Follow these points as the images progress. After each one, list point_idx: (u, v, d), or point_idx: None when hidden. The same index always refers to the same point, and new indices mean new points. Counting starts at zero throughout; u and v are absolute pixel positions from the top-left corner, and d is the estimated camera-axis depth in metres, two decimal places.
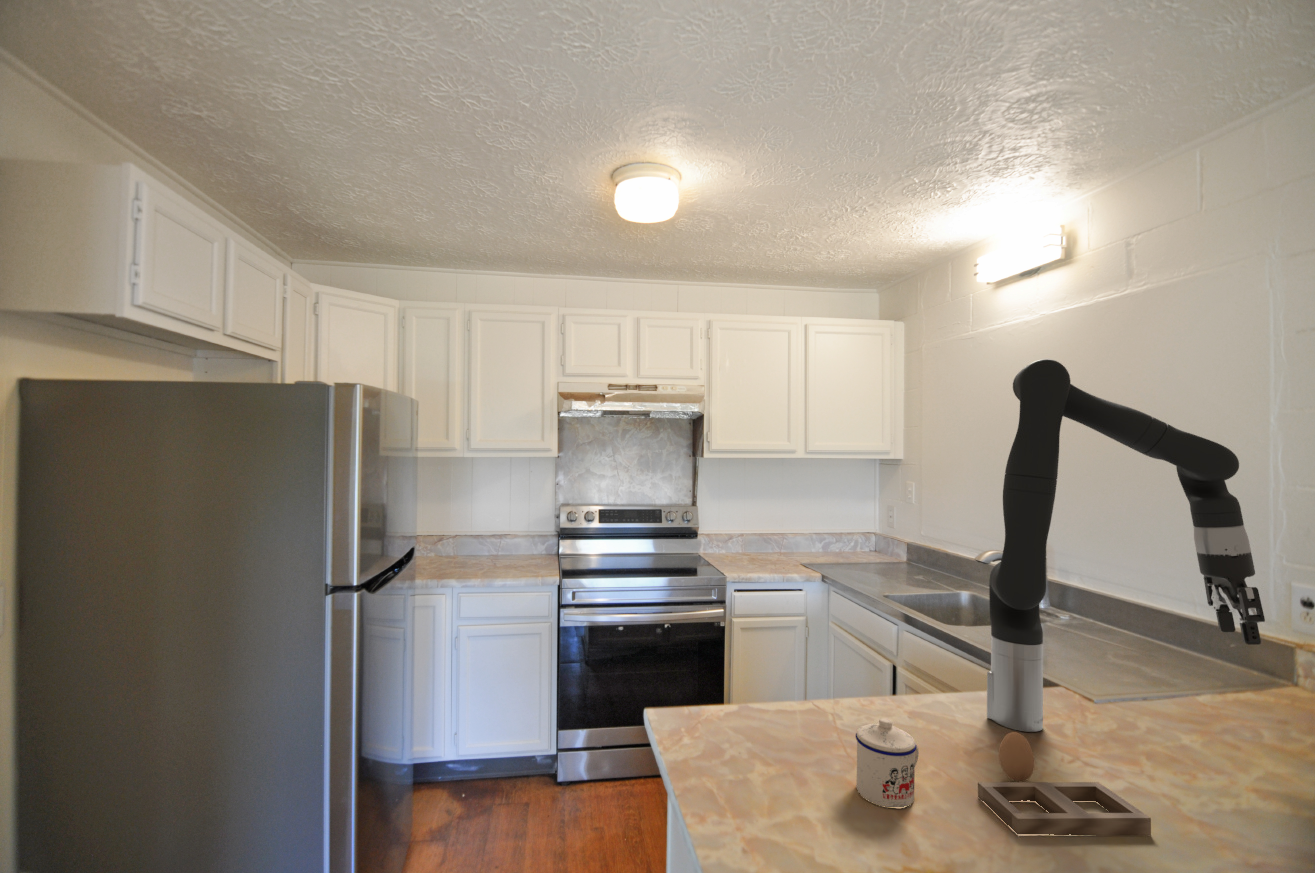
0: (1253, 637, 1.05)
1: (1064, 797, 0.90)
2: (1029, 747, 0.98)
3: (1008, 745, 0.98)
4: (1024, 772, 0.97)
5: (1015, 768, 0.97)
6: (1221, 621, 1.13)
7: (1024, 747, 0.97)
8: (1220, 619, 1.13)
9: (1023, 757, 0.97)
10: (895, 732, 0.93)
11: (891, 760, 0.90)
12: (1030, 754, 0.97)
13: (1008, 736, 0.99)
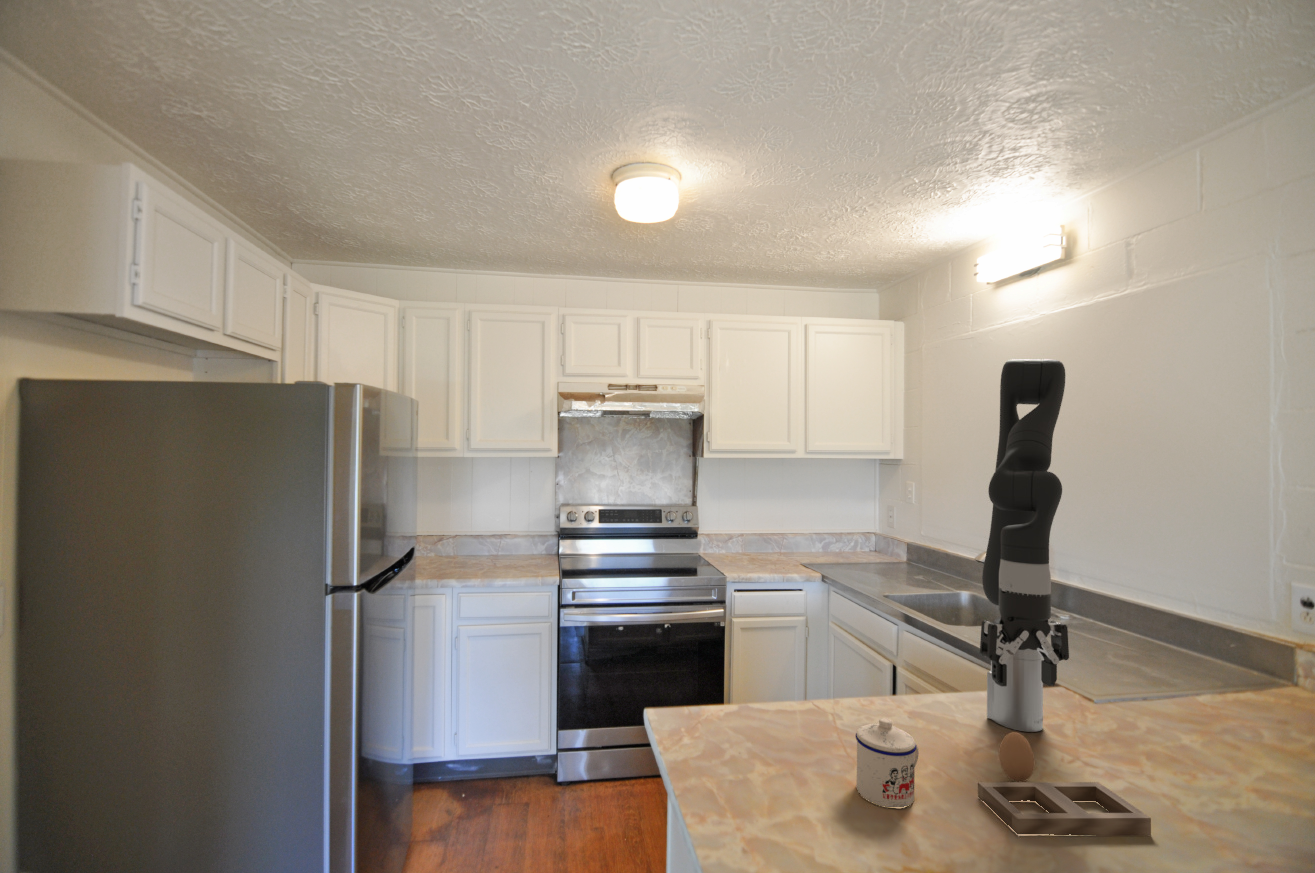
0: None
1: (1064, 797, 0.90)
2: (1029, 747, 0.98)
3: (1008, 745, 0.98)
4: (1024, 772, 0.97)
5: (1015, 768, 0.97)
6: (1042, 670, 1.00)
7: (1024, 747, 0.97)
8: (1042, 668, 1.00)
9: (1023, 757, 0.97)
10: (895, 732, 0.93)
11: (891, 760, 0.90)
12: (1030, 754, 0.97)
13: (1008, 736, 0.99)
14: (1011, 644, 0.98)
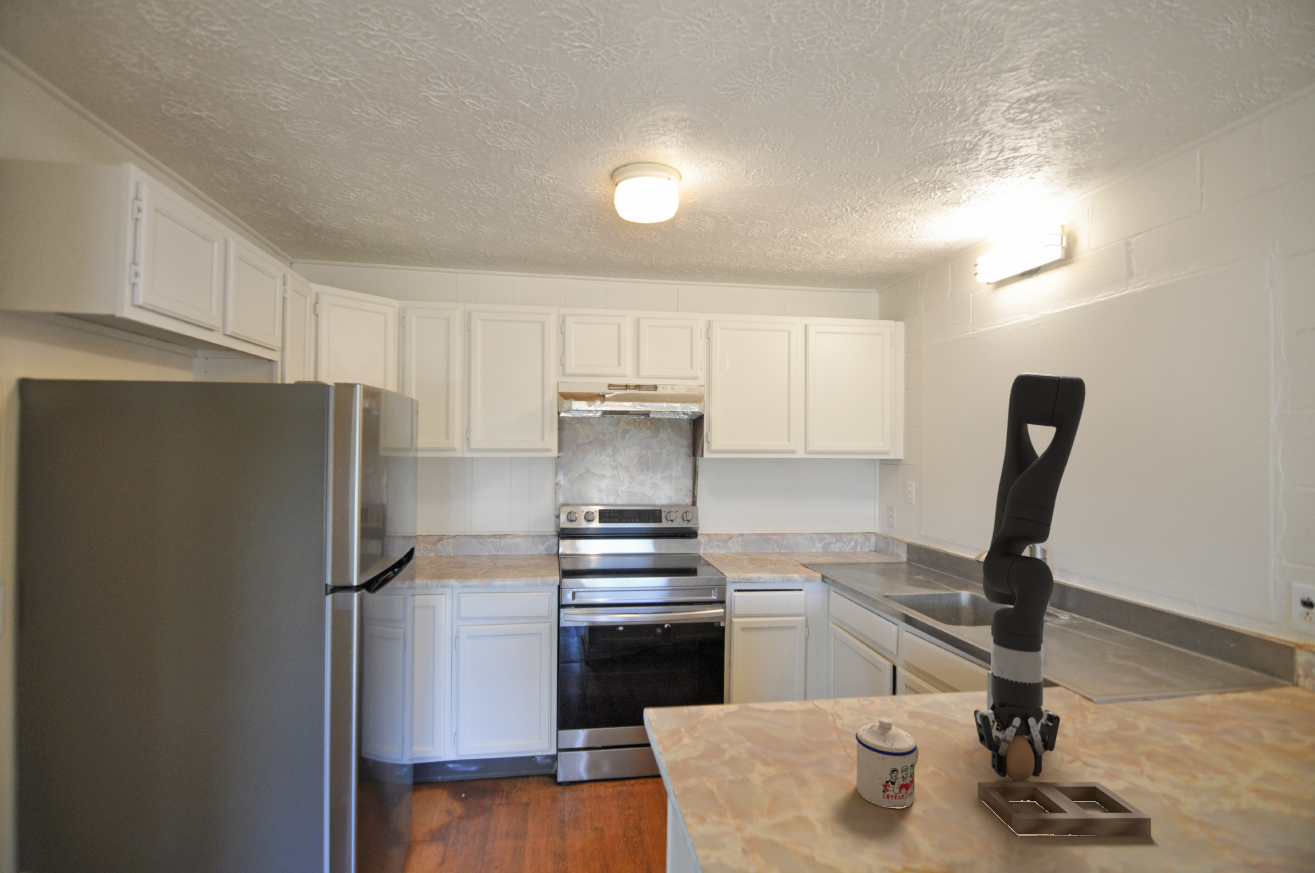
0: None
1: (1064, 797, 0.90)
2: (1029, 747, 0.98)
3: (1008, 745, 0.98)
4: (1024, 772, 0.97)
5: (1015, 768, 0.97)
6: None
7: (1024, 747, 0.97)
8: None
9: (1023, 757, 0.97)
10: (895, 732, 0.93)
11: (891, 760, 0.90)
12: (1030, 754, 0.97)
13: None
14: (1006, 733, 0.98)
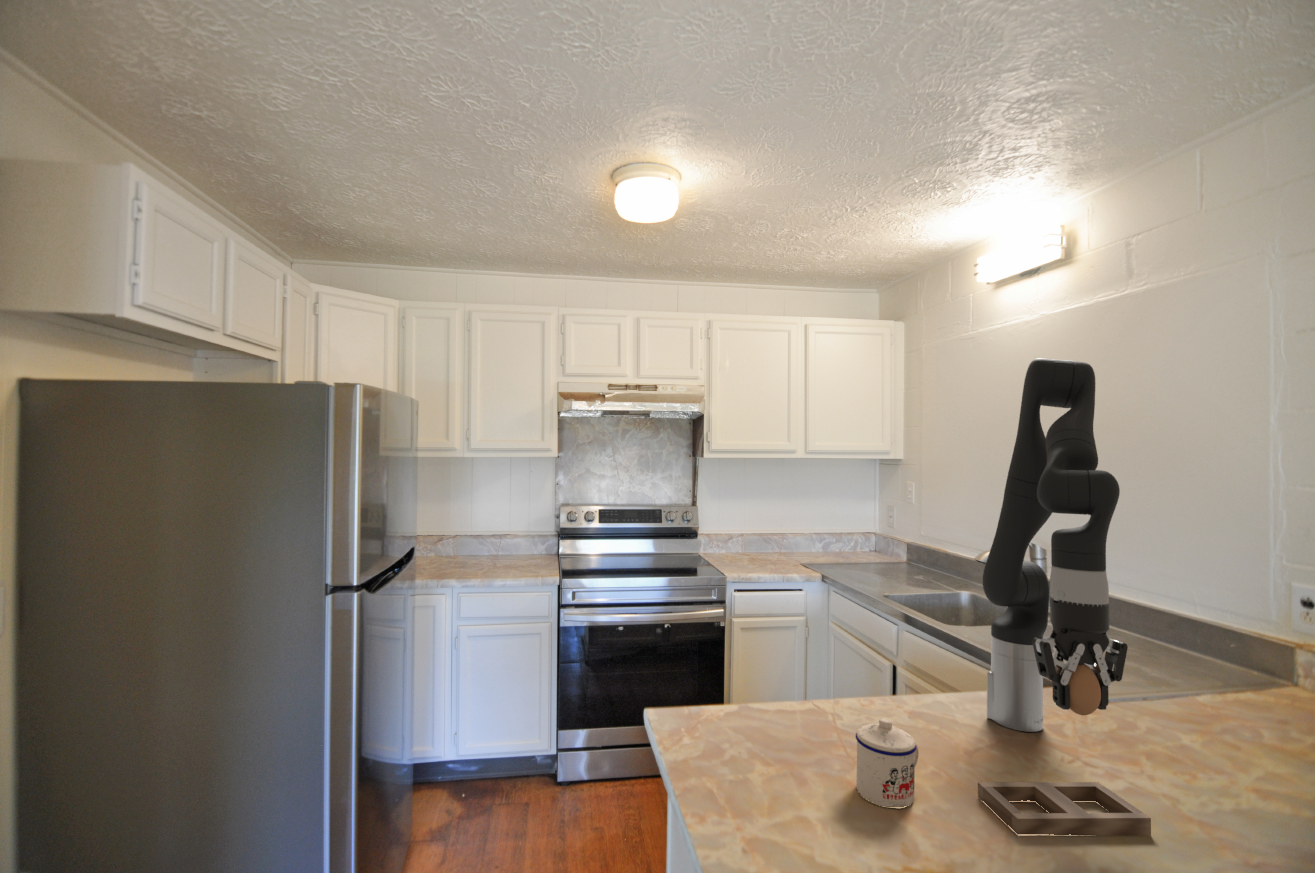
0: None
1: (1064, 797, 0.90)
2: (1095, 676, 0.90)
3: (1071, 675, 0.91)
4: (1091, 704, 0.89)
5: (1080, 699, 0.89)
6: None
7: (1089, 676, 0.90)
8: None
9: (1089, 687, 0.89)
10: (895, 732, 0.93)
11: (891, 760, 0.90)
12: (1096, 684, 0.89)
13: None
14: (1069, 662, 0.90)
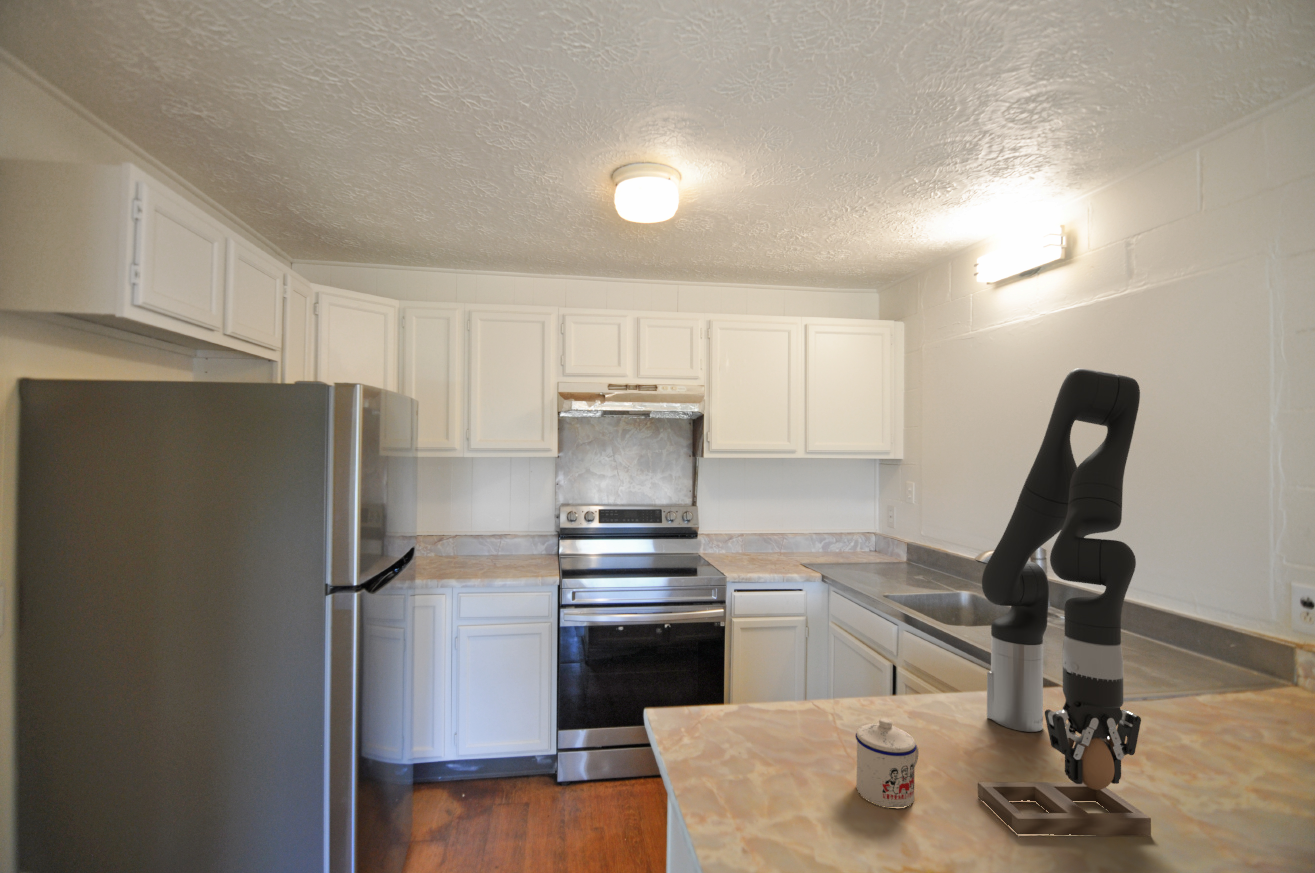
0: None
1: (1064, 797, 0.90)
2: (1109, 751, 0.88)
3: (1084, 749, 0.89)
4: (1104, 779, 0.87)
5: (1093, 775, 0.88)
6: None
7: (1103, 751, 0.88)
8: None
9: (1103, 763, 0.87)
10: (895, 732, 0.93)
11: (891, 760, 0.90)
12: (1110, 759, 0.88)
13: None
14: (1082, 736, 0.88)
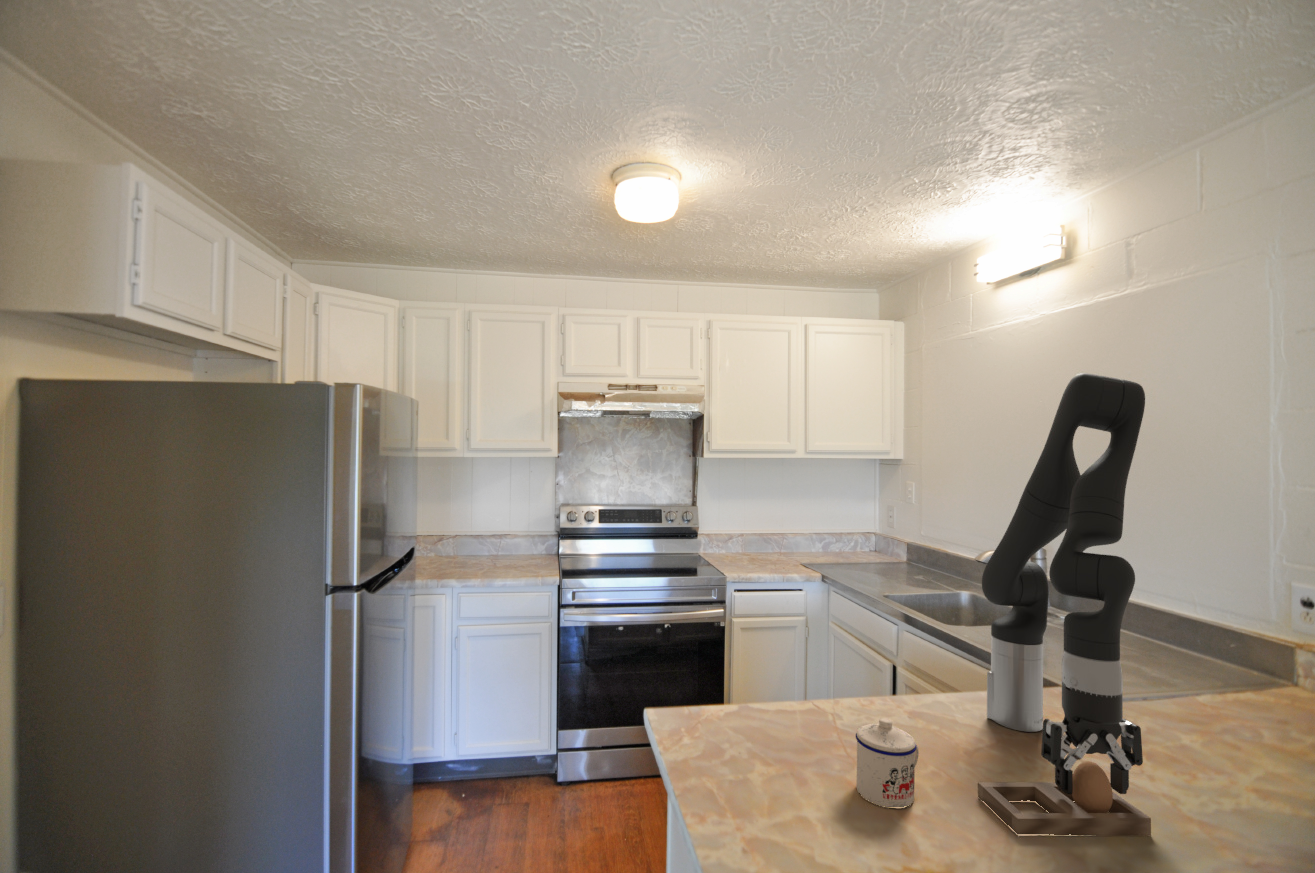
0: None
1: (1064, 797, 0.90)
2: (1107, 779, 0.88)
3: (1083, 776, 0.89)
4: (1102, 807, 0.87)
5: (1091, 802, 0.88)
6: (1111, 775, 0.91)
7: (1101, 779, 0.88)
8: (1111, 772, 0.91)
9: (1101, 790, 0.87)
10: (895, 732, 0.93)
11: (891, 760, 0.90)
12: (1108, 787, 0.88)
13: (1082, 765, 0.90)
14: (1077, 748, 0.88)
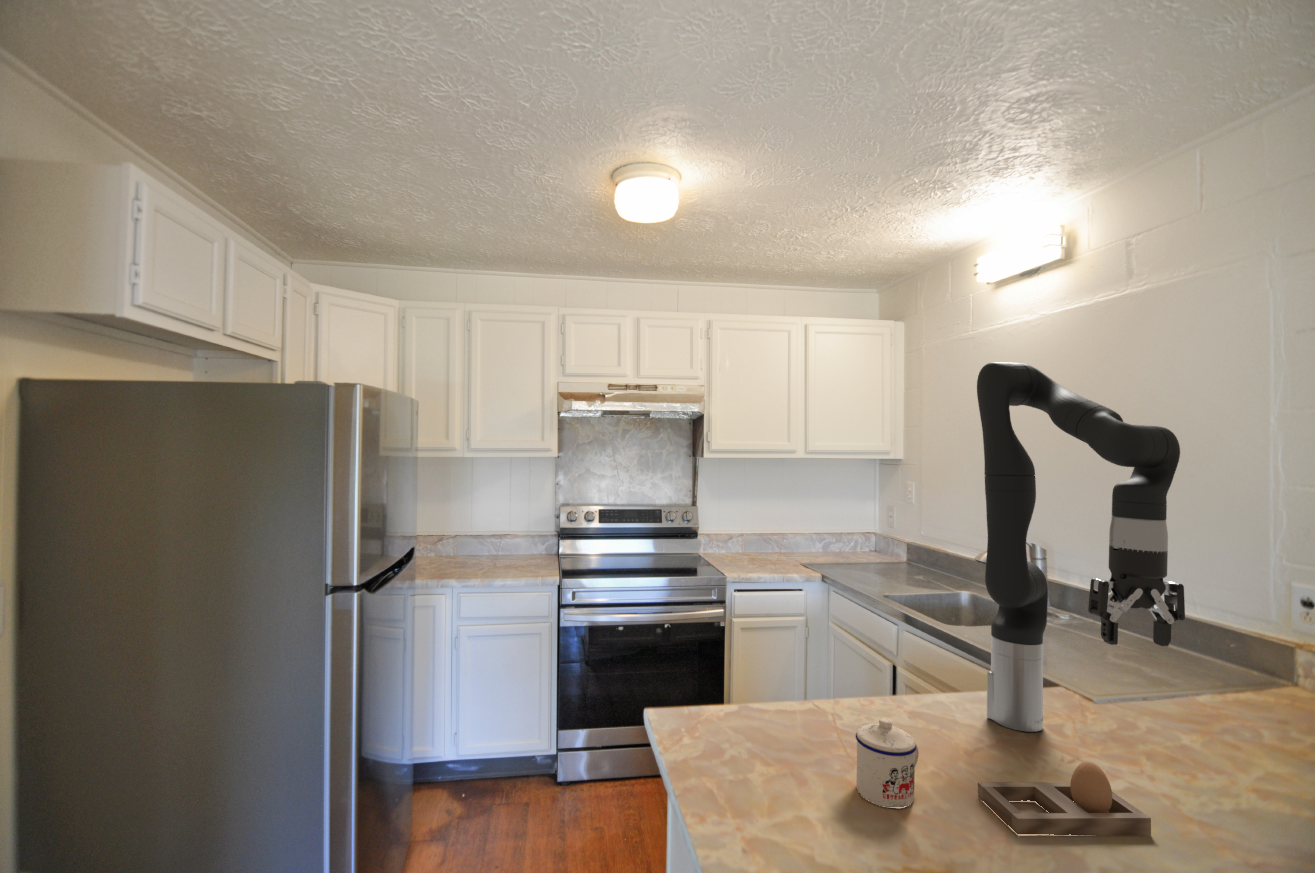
0: None
1: (1064, 797, 0.90)
2: (1106, 779, 0.88)
3: (1082, 777, 0.89)
4: (1102, 808, 0.87)
5: (1090, 803, 0.88)
6: (1154, 631, 0.98)
7: (1101, 779, 0.88)
8: (1154, 628, 0.98)
9: (1100, 791, 0.87)
10: (895, 732, 0.93)
11: (891, 760, 0.90)
12: (1107, 788, 0.88)
13: (1082, 766, 0.90)
14: (1123, 602, 0.95)
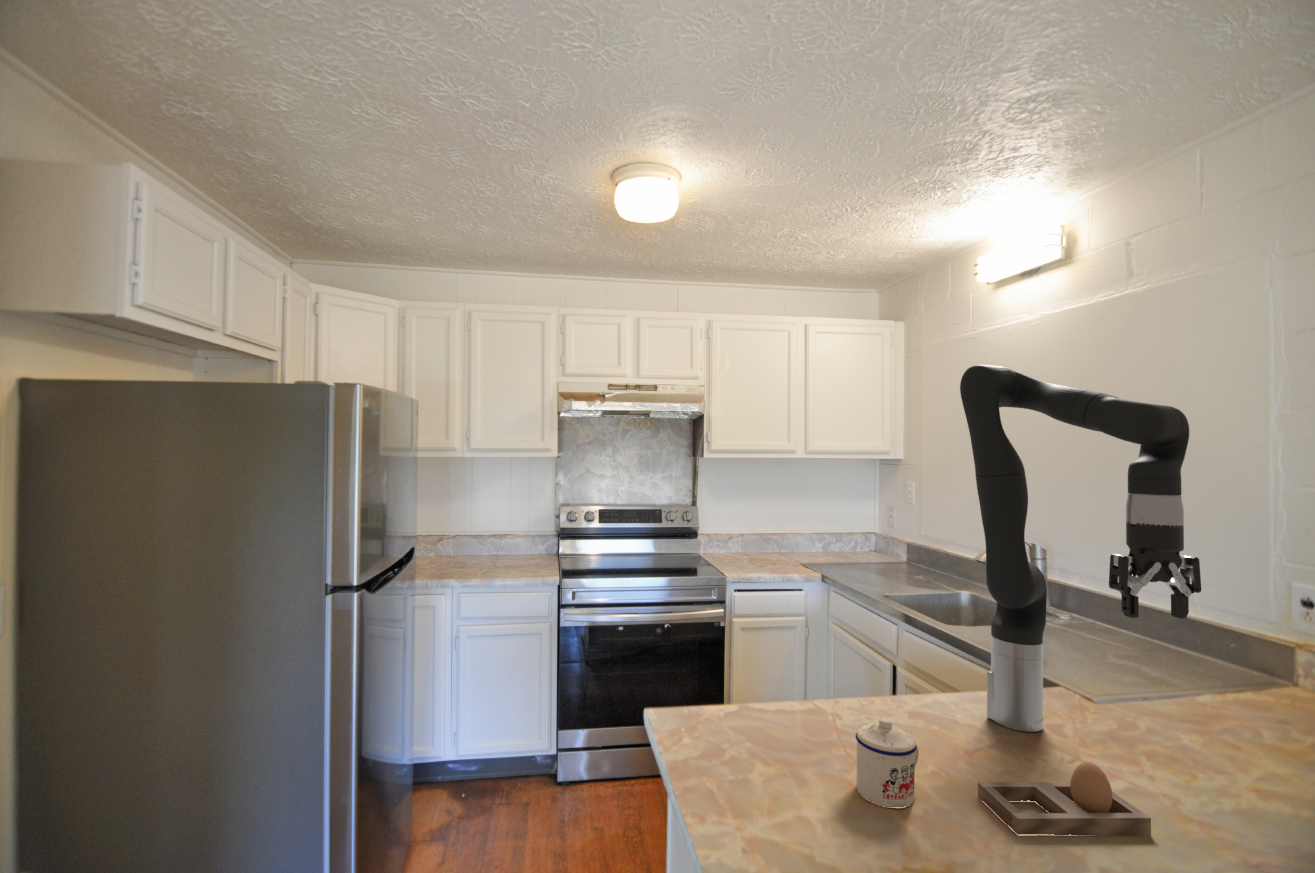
0: (1127, 609, 0.99)
1: (1064, 797, 0.90)
2: (1106, 779, 0.88)
3: (1082, 777, 0.89)
4: (1102, 808, 0.87)
5: (1090, 803, 0.88)
6: (1172, 604, 1.00)
7: (1101, 779, 0.88)
8: (1172, 602, 1.01)
9: (1100, 791, 0.87)
10: (895, 732, 0.93)
11: (891, 760, 0.90)
12: (1107, 788, 0.88)
13: (1082, 766, 0.90)
14: (1143, 576, 0.98)
